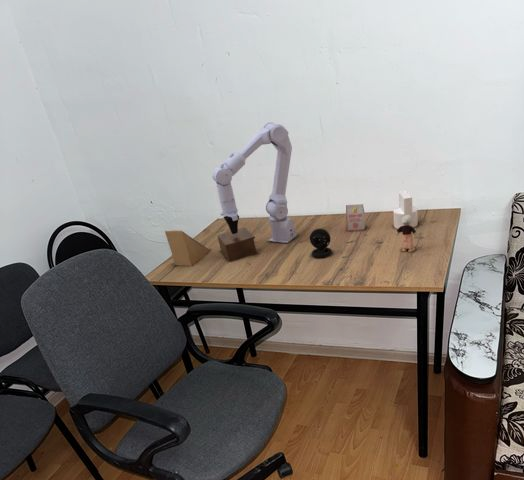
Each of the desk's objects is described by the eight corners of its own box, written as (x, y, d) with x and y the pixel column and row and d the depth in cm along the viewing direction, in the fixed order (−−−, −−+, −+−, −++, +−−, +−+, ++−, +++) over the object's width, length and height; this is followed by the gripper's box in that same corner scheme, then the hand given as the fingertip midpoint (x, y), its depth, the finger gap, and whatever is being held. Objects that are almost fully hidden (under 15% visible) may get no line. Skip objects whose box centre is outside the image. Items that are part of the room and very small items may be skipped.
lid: (245, 228, 197) (244, 227, 197) (255, 238, 186) (254, 236, 186) (217, 236, 195) (217, 235, 195) (225, 246, 184) (225, 245, 184)
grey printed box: (348, 227, 195) (346, 203, 189) (365, 226, 192) (363, 202, 187) (347, 230, 192) (345, 206, 186) (363, 230, 189) (362, 205, 184)
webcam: (309, 258, 176) (306, 233, 171) (314, 250, 182) (311, 225, 176) (329, 258, 174) (326, 232, 168) (334, 249, 179) (331, 224, 174)
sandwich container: (211, 249, 202) (202, 215, 193) (192, 265, 191) (182, 230, 183) (194, 249, 206) (185, 216, 197) (175, 265, 195) (164, 230, 187)
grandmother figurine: (418, 247, 167) (419, 213, 160) (417, 252, 165) (417, 217, 158) (396, 247, 171) (396, 213, 164) (394, 252, 168) (393, 217, 161)
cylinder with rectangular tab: (420, 226, 182) (420, 196, 176) (396, 230, 183) (396, 200, 176) (414, 219, 190) (414, 189, 183) (391, 222, 191) (390, 193, 184)
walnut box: (246, 243, 201) (243, 229, 197) (256, 253, 190) (253, 238, 186) (221, 250, 199) (217, 236, 195) (229, 261, 188) (225, 247, 184)
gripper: (213, 198, 187) (220, 230, 195) (222, 207, 176) (230, 241, 183) (229, 193, 189) (237, 226, 196) (239, 202, 177) (247, 236, 184)
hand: (234, 233), depth 190 cm, fingers closed
